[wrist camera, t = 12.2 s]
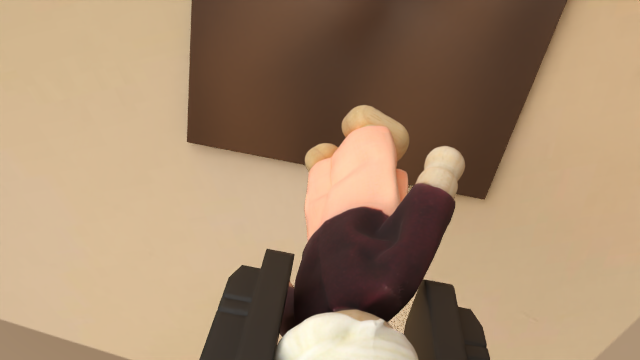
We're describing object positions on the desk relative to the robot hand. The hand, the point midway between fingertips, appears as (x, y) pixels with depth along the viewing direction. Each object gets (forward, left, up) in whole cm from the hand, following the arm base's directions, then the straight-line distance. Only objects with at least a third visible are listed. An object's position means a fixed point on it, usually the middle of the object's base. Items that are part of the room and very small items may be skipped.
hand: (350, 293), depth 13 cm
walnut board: (0, 0, -20) cm, 20 cm away
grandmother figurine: (0, 0, -8) cm, 8 cm away
